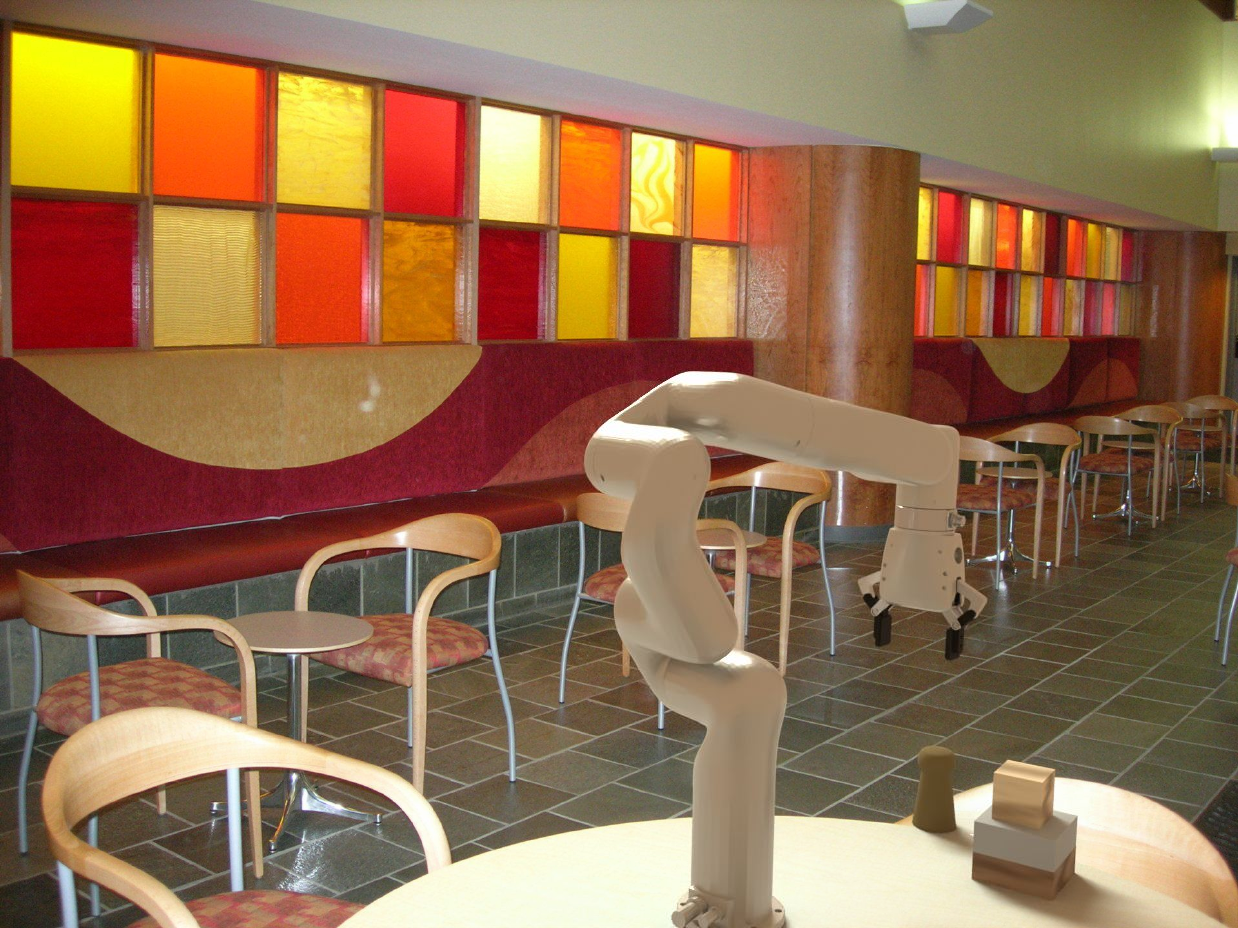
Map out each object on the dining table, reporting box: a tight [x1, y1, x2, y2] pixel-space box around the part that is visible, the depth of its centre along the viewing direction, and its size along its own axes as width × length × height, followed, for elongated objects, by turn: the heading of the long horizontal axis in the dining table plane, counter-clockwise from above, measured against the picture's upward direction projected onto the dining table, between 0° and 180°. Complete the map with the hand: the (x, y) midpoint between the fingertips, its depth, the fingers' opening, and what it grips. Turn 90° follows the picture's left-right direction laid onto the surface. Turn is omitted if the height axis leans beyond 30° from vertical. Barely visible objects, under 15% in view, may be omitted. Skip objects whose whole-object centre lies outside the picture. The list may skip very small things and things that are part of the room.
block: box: [991, 759, 1056, 830], centre depth 152 cm, size 6×6×6 cm
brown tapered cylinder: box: [911, 745, 957, 834], centre depth 168 cm, size 6×6×11 cm
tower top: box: [972, 804, 1078, 873], centre depth 152 cm, size 10×10×4 cm
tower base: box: [971, 845, 1077, 902], centre depth 152 cm, size 10×10×4 cm
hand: (916, 651), depth 154 cm, fingers open, 9 cm apart
